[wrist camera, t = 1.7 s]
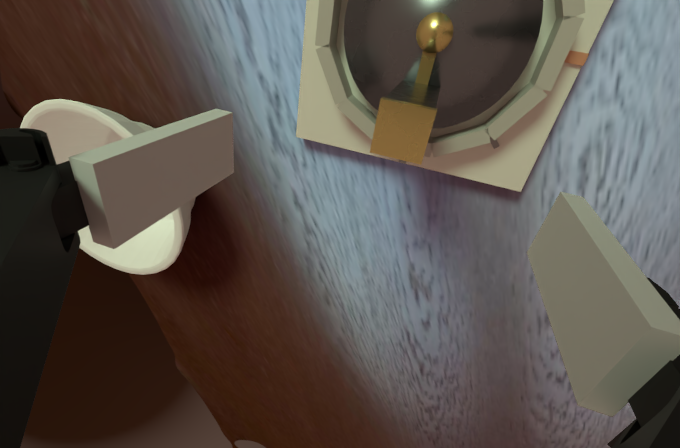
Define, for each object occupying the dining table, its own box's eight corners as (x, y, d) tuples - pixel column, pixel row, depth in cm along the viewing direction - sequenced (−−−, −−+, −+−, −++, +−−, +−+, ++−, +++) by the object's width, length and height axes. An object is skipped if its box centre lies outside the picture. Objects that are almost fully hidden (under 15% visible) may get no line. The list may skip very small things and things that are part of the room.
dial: (366, -98, 24) (309, -180, 14) (578, -73, 21) (673, -151, 12) (337, 105, 31) (288, 138, 22) (493, 140, 29) (511, 193, 20)
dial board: (327, -172, 24) (310, -200, 21) (674, -144, 20) (712, -173, 17) (301, 133, 36) (288, 142, 33) (518, 185, 32) (524, 201, 29)
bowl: (204, 88, 36) (146, 102, 30) (238, 250, 47) (201, 288, 40) (59, 85, 42) (-19, 96, 35) (118, 231, 52) (67, 262, 45)
